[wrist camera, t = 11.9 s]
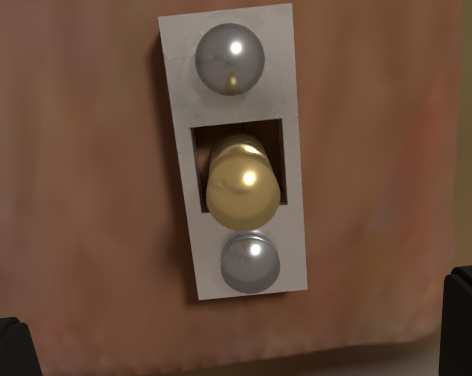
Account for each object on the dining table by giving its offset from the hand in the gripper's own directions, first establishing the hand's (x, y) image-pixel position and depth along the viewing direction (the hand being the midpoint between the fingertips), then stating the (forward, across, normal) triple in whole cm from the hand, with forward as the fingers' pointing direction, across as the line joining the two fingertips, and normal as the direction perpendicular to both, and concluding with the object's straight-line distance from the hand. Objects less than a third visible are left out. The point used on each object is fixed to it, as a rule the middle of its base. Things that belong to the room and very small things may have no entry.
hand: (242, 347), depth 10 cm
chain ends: (+18, -1, 0) cm, 18 cm away
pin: (+18, -1, 0) cm, 19 cm away
